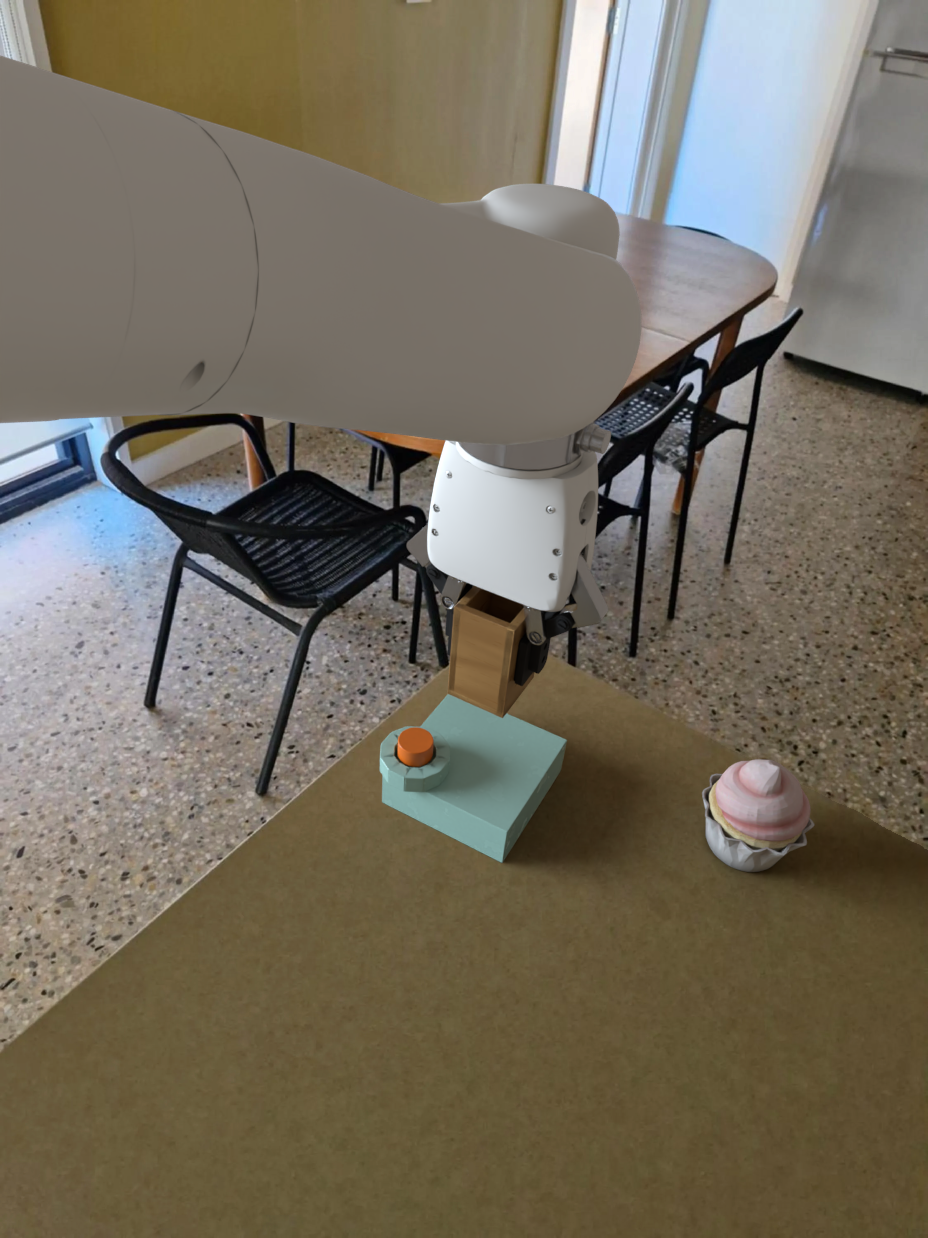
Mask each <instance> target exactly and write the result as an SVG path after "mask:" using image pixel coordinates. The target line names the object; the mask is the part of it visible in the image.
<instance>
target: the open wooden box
mask: <svg viewBox="0 0 928 1238" xmlns="http://www.w3.org/2000/svg"><path fill="white" fill-rule="evenodd" d="M525 633H526V623H525V615H524V607H523V604H521V603H518V602H515V601H513V600H510V599H507V598H505V597H502V596H500V595H497V594H494V593H492V592H489V591H487V590H484V589H482V588H479V587H477V586H473V587H472V589H471V590H470V591H469V592H468V593H467V594H466V595H465V596H464V597H463V598H462V599H461V600H460V601H459V602H458V603H457V604H456V605H455V606H454V614H453V627H452V641H451V654H450V655H449V667H448V668H449V669H448V679H447V680H448V682H447V695H448V694H449V695H452V696H454V697H456V698H458V699H461V700H463V701H465V702H467V703H470V704H472V705H474V706H476V707H479V708H481V709H483V710H485V711H488V712H490V713H492V714H494V715H496V716H499V717H501V718H503V717H504V716H505V715H506V713H507V714H508V712H509V711H510V710H511V708H512V707H513V706H514V704H515V703H516V702H517V700H518V699H519V698H520V696H522V694H523V692H524V691H525V690H526V688H527V687H528V686H529V685H530V683H531V682H532V680H534V677H535V672H533V673H532V675H531V676H530V677H529V678H528V680H527V681H526V682H525V684H524V685H523V686H520V685H517V684H515V681H514V673H515V666H516V659H517V652H518V645H519V641H520V640H521V638H522V637H523V636H524V635H525Z"/></svg>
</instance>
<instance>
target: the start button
mask: <svg viewBox="0 0 928 1238" xmlns="http://www.w3.org/2000/svg"><path fill="white" fill-rule="evenodd" d="M418 727H419V726H416V727H413V728H408V729H406V730H404V731H403V732H402V733H401V734H400V735H399V737H398V752H397V753H398V758H399V759H400V761H401V762H402V763H404V764H405V765H407V766H411V767H420V766H424V765H426V764H427V763H428V762H429V761H430V760H431V759H432V756H433V744H434V740H433V737H432V735H431V734H430V732H428V731H427V730H425V729H423V728H418Z"/></svg>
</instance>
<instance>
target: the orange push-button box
mask: <svg viewBox="0 0 928 1238" xmlns="http://www.w3.org/2000/svg"><path fill="white" fill-rule="evenodd" d="M413 727H418V728H423V729H425V730H427V731H428V732H430V734H431V735H432V737H433V740H434V744H433V756H432V759H431V760H430V761H429V762H428V763H427V764H426V765H424V766H420V767H411V766H407V765H405V764H404V763H402V762H401V761H400V759H399V758H398V753H397V752H398V737H399V735H400V734H401V733H402V732H403V731H404V730H406V729H408V728H413ZM567 743H568V739H566V738H564V737H562V736H559V735H557V734H555V733H553V732H550V731H548V730H547V729H546V730H545V729H544V728H540V727H538V726H537V725H534V724H532V723H530V722H528V721H525V720H524V719H521V718H518V717H516V716H514V715H511V714H509V713H508V712H507V713H506V715H505V716H504V717H503V718H501V717H499V716H496V715H494V714H492V713H490V712H488V711H485V710H483V709H481V708H479V707H476V706H474V705H472V704H470V703H467V702H465V701H463V700H461V699H458V698H456V697H454V696H452V695H449V694H448V693H447V694H446V696H445V697H444V698H443V699H442V700H441V702H439V704H438V705H437V706H436V707H435V709H434V710H433V711H432V712H431V713H430V714H429V715H428V716H427V718H426V719H425V720H424V721H423V723H422V724H421V725H420V726H414V725H413V726H412V725H407V726H403V727H401V728H398V729H395V730H392V731H391V732H390V733H389V734H388V735H387V736H386V737H385V739H383V741H382V742H381V743H380V749H379V772H380V774H381V775H382V779H381V780H382V781H381V783H382V785H381V803H382V804H384V805H386V806H388V807H390V808H392V809H394V810H396V811H398V812H400V813H402V814H404V815H405V816H408V817H410V818H412V819H414V820H416V821H418V822H420V823H422V824H424V825H426V826H427V827H430V828H431V829H434V830H436V831H437V832H439V833H441V834H444V835H446V836H448V837H449V838H452V839H454V840H456V841H458V842H459V843H461V844H464V845H465V846H467V847H469V848H472V849H473V850H476V851H477V852H478V853H482V854H483V855H486V856H488V857H490V858H491V859H492V860H493V859H494V860H495V861H497V862H499V863H501V864H503V863H504V861H505V859H506V858H507V856H509V853H510V851H511V850H512V849H513V847H514V845H515V844H516V842H517V841H518V839H519V838H520V836H521V835H522V833H523V831H524V830H525V828H526V826H527V825H528V824H529V822H530V820H531V819H532V817H533V815H534V814H535V812H536V811H537V809H538V808H539V805H540V804H541V803H542V801H543V799H544V798H545V797H546V795H547V794H548V792H549V790H550V789H551V787H552V785H553V784H554V783H555V781H556V779H557V777H559V774H560V773H561V771H562V767H563V761H564V757H565V752H566V747H567Z"/></svg>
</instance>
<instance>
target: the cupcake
mask: <svg viewBox="0 0 928 1238" xmlns="http://www.w3.org/2000/svg"><path fill="white" fill-rule="evenodd" d="M701 795H702V796H701V797H702V801H703V806H704V809H705V810H704V817H705V838H706V841H707V844H708V846H709V848H710V850H711V852H712V853H713V855H714V856H715V857H716V858H718V859H719V860H720V861H721V862H722V863H723V864H725V865H727V866H728V867H730V868H732V869H735V870H738V871H741V872H746V873H758V872H762V871H765V870H769V869H770V868H772V867H773V866H774V865H776V863H778V861H780V860H781V859H782V858H783V857H785V856H786V855H787V854H788V853H789V852H792V851H795V850H796V849H799V848H802V847H805V846H807V844H808V841H807V836H806V833H807V832H808V831H810V830H811V829H812V828H814V826H815V822H814V821H813V820H812V819H811V817H810V816H811V803H810V801H809V798H808V796H807V794H806V793H805V791H804V790H803V789H802V785H801V783H800V781H799V779H798V778H797V777H796V776H795V775H794V774H793V773H792V771H790V770H789V769H787V767H785V766H784V765H782V764H781V763H780V762H778V761H776V760H773V759H760V758H759V759H758V758H757V759H756V758H755V759H752V760H740V761H737V762H735V763H733V764H731V765H730V766H728V768H727V769H726V770H725V771H724V772H723V773H714V774H711V775H710V777H709V786H707V787H705V788H703V789H702V792H701Z"/></svg>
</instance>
